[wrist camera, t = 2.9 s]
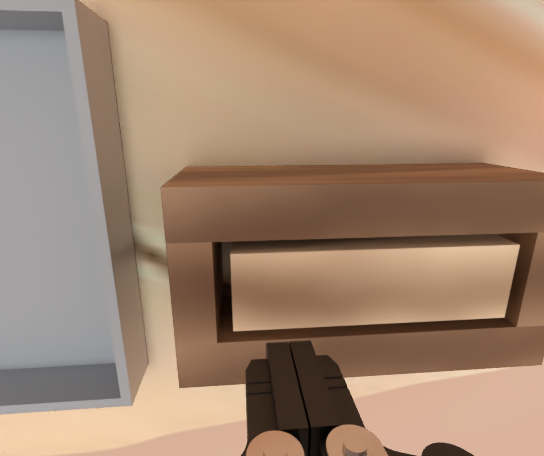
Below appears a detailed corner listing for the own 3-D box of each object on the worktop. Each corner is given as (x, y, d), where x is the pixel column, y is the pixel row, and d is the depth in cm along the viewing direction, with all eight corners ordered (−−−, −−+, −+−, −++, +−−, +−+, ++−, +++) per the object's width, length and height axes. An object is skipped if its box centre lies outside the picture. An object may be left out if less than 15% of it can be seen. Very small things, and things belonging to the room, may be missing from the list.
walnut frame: (186, 166, 22) (160, 187, 15) (484, 163, 23) (589, 180, 16) (196, 313, 25) (179, 387, 18) (461, 300, 26) (541, 365, 19)
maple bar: (231, 237, 18) (230, 254, 16) (485, 229, 19) (520, 244, 17) (234, 305, 19) (233, 331, 17) (473, 295, 20) (504, 317, 18)
